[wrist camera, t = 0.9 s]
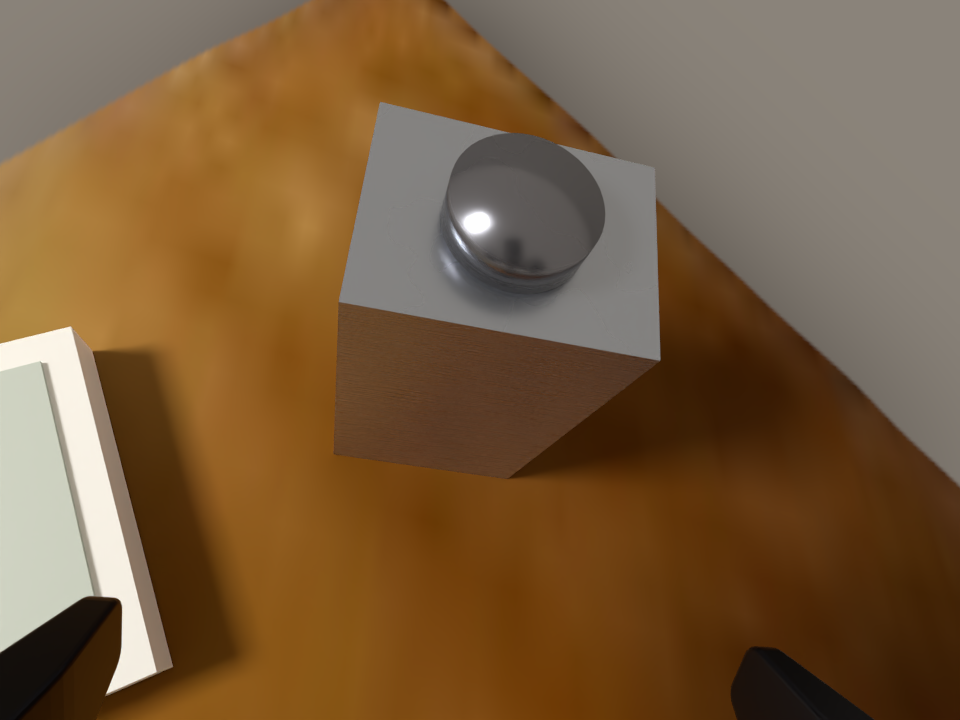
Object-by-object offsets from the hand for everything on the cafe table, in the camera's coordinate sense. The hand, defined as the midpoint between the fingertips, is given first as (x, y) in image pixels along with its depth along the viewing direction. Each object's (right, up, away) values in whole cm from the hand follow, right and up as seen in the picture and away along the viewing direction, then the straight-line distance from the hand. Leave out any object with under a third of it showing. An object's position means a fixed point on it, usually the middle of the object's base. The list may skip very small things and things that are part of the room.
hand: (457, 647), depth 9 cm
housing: (-2, +2, +15) cm, 15 cm away
